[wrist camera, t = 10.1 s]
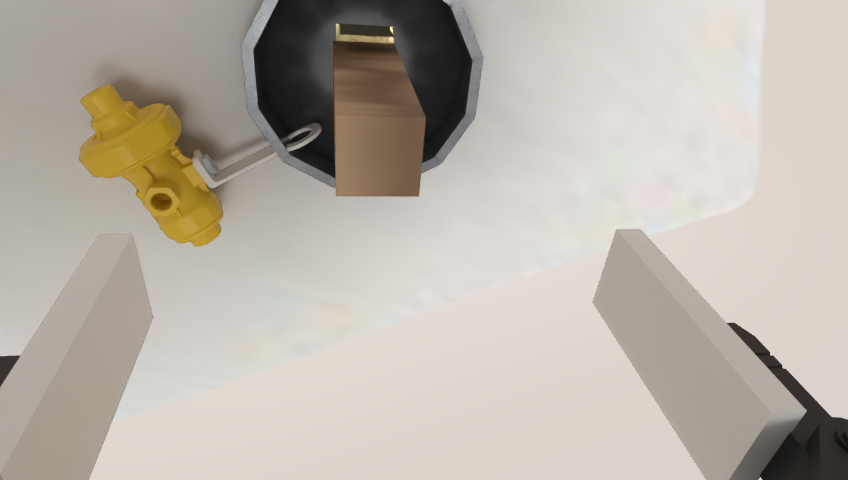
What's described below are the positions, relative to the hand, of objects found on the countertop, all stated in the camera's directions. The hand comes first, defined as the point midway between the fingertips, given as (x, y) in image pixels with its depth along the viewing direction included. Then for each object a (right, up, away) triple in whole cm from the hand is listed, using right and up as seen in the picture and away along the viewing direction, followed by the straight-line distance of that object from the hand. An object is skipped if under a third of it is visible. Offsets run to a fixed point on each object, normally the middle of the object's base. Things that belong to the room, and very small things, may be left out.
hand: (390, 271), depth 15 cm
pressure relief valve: (-12, +8, +18) cm, 23 cm away
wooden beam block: (-3, +11, +17) cm, 20 cm away
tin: (-3, +11, +17) cm, 21 cm away
